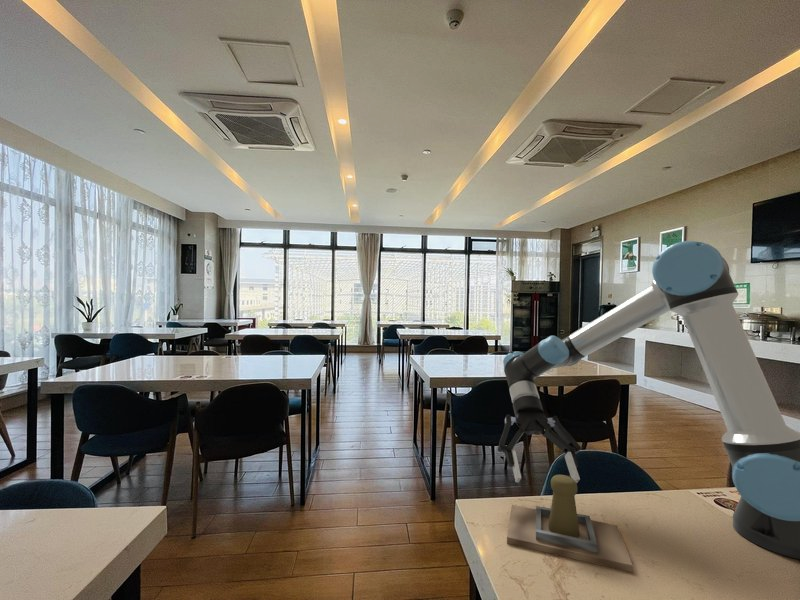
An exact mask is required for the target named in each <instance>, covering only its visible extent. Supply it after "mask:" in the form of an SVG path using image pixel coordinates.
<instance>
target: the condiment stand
mask: <svg viewBox="0 0 800 600" xmlns="http://www.w3.org/2000/svg"><path fill="white" fill-rule="evenodd" d="M535 507H536V508H531V507H526V506H522V505H521V506H520V505H517V504H511V507H510V515H509V521H508V528H507V534H506V535H507V536H506V544H510V545H514V546H518V547H523V548H526V549H531V550H535V551H539V552H544V553H546V554H547V553H548V554H552V555H556V556H560V557H565V558H569V559H574V560H577V561H583V562H587V563H592V564H595V565H600V566H604V567H609V568H612V569H617V570H621V571H626V572H629V573H634V568H633V567H634V565H633V563H632V560H631V557H630V555H629V552H628V550H627V549H628V548H627V546H626V543H625V542H624V539H623V537H622V534H621V531H620V529H619V526H618V524H614V523H608V522H603V521H598V520H594V519H593V520H592V519H591V517H590V515H588V514H587V515H585V514H581V513H577V518H578V525H579V532H580V536H579V537H578V538H576V537H571V536H567V535H562V534H557V533H552V532H551V531H550V530H549V519H550V512H551V507H544V506H540V505H536V506H535Z"/></svg>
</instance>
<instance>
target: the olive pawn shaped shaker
mask: <svg viewBox="0 0 800 600" xmlns="http://www.w3.org/2000/svg"><path fill="white" fill-rule="evenodd" d="M577 484H578V483H577ZM577 484H576V482H575V480H574V479H572V478H571V476H570V475H567V474H566V475H565V474H555V475H553V476H552V477H551V479H550V487H551V488H550V489H551V490H552V499H551V506H550V509H551V512H550V519H549V530H550V531H551V532H552V533H557V534H562V535H567V536H571V537H576V538H578V537H579V536H580V532H579V525H578V518H577V514H578V511H577V506H576V497H575V496H576V494H577V493H578V485H577Z"/></svg>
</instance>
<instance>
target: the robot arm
mask: <svg viewBox="0 0 800 600" xmlns="http://www.w3.org/2000/svg"><path fill="white" fill-rule="evenodd" d="M651 268H652V271H651V273H652V278H653V279H652V282H651V283H652V284H651V285H650V286H649V287H647V288H645V289H643V290H641V291H640V292H639V293H637V294H635V295H633V296H631V297H629V298H628V299H626V300H625V301H624V302H622V303H620V304H618V305H617V306H615V307H614V308H612V309H610V310H609V311H607V312H605V313H604V314H602V315H601V316H598V317H597V318H596V319H594V320H592V321H590V322H589V323H586V325H584V326H582V327H580V328H579V329H577V330H575V331H574V332H572V333H571V334H570V335H568V336H565V337H564V338H562V339H561V338H560V337H558V336H556V335H549V336H547V338H545V339H542V340H541V341H539V342H538V343H537V344H536V345H534V346H533V347H532V348H530V349H528V350H527V351H526V352H523V351H514V352H509V353H507V354H506V355H505V356H504V357H503V361H502V364H503V371H504V375H505V378H506V381H507V385H508V390H509V395H510V398H511V403H512V408H513V413H514V416H511V414H506V415H505V418H504V427H503V431H502V433H501V436H500V437H501V438H500V439H499V443H498V446H497V452H499V453H504V455H505V456H506V461H507V465H508V467H510V468H512V472H513V476H514V481H515V483H520V481H521V479H522V474H521V470H520V465H519V461H518V457H517V452H516V450H514V448H515V446H517V443H518V442H519V440H520V439H521V437H522V436H523V435H524V434H526V435H528V436H532V435H534V436H540V435H541V436H543V437H544V438H547V440H549V441H550V442H551V443H553V444H554V445H555V446H556V447H557V448H558V449H559V450H561V451H562V452H563V453H564V454H565V455H564V460H565V462H566V466H567V469H568V472H569V477H571V478H572V479H574V480H575V482H576V484H578V483H579V481H580V480H581V478H580V475H579V472H578V470H577V468H579V461H578V460H577V456H576V455H578V453H579V452H580V450H582V447H581V445H580V444H579V443H578V442H577V440H575V438H574V437H573V436H572V435H571V433H569V431H568V430H567V429H566V428H565V427H564V425H562V423H561V421H560V420H559V417H558V416H557V415H553V416H552V417H547V416H546V415H545V413H544V409H543V405H542V401H541V399H540V395H539V391H538V388H537V385H536V381H535V379H536V378H538V377H540V376H541V375H543V374H545V373H547V372H548V371H551V370H552V369H557V368H564V367H571V366H575V365H576V364H578V363H579V362H580V361H581V360H582V359H584V358H586V357H587V356H589V355H591V354H593V353H595V352H596V351H598V350H600V349H601V348H604V347H605V346H607V345H609V344H611V343H613V342H614V341H616V340H618V339H620V338H622V337H624V336H625V335H628V334H629V333H631V332H633V331H635V330H637V329H638V328H640V327H642V326H644V325H646V324H648V323H650V322H652V321H653V320H655V319H657V318H659V317H660V316H662V315H665V314H667V312H670V311H671V312H672V313H675V314H677V315H679V316H681V318H682V320H683V323H684V324H685V327H686V329H687V333H688V335H689V337H690V340H691V341H692V342H691V343H692V344H693V347H694V349H695V353H696V354H697V356H698V359H699V362H700V364H701V368H702V369H703V372H704V374H705V377H706V380H707V381H708V385H709V386H710V389H711V392H712V394H713V397H714V399H715V401H716V405H717V406H718V407H717V408H718V409H719V412H720V415H721V417H722V419H723V422H724V424H725V427H726V431H725V433H723V436H722V437H721V441H722V444H723V446H724V449H725V452H726V454H727V457H728V459H729V462H730V464H731V467H732V469H731V470H732V471H731V476H732V478H731V479H732V482H733V485H734V487H735V489H736V491H737V492H738V494H739V495H740V498H739V500H738V502H737V503H736V507H735V509H734V511H733V513H732V526H733V528H734V530H735V531H736V532H737V533H738V534H740V536H742V537H743V538H745V539H747V540H748V541H750V542H751V543H753V544H755V545H758V546H760V547H762V548H764V549H766V550H768V551H770V552H774V553H777V554H780V555H782V556H785V557H789V558H792V559H796V560H800V432H798V431H796V430H795V429H793V428H791V427H790V426H788V425H787V423H786V422H785V419H784V418H783V416H782V413H781V411H780V409H779V406H778V404H777V402H776V399H775V397H774V395H773V393H772V391H771V388H770V386H769V384H768V381H767V380H766V377H765V375H764V372H763V370H762V368H761V365H760V363H759V362H758V361H759V360H758V358H757V357H756V355H755V352H754V350H753V348H752V345H751V343H750V341H749V338H748V337H747V334H746V332H745V330H744V327H743V325H742V323H741V320H740V318H739V317H738V314H737V311H736V309H735V307H734V302H735V301H736V299H737V298H738V296H739V292H738V289H737V287H736V286H735V283H734V281H733V279H732V276H731V274H730V266H729V264H728V262H727V260H726V259H725V258H724V257H723V256H722V254H721V253H720V251H719V250H718V249H717V248H715V247H714V246H712V245H710V244H709V243H705V242H703V241H697V240H685V241H680V242H676V243H673V244H671V245H668V246H667V247H666V248H664V249H663V250H662V251H660V252H659V254H658V255H657V256H656V258H655V260H654V262H653V265H652V267H651ZM514 423H515V424H516V425H517V426H518V427H519V428H518V430H517V431H516V432H515V434H514V436H513V437H512V439H511V440H510V441H509V443H508V444H507V445H506V442H507V441H506V440H507V439H508V435H509V431H510V429H511V426H513V425H514ZM552 429H553V430H552Z"/></svg>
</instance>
